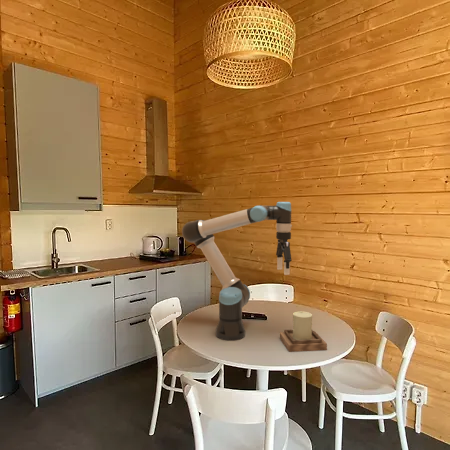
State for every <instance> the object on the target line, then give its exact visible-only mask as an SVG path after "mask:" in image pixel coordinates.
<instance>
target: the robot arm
mask: <svg viewBox="0 0 450 450" xmlns="http://www.w3.org/2000/svg"><path fill="white" fill-rule="evenodd" d="M263 221H276V223H275V225H276V227H275V228H276V231H277V232H276V233H275V234H276V239H277V246H276V252H275V253H276V254H275V255H276V263H277V264H276V270H277V271H279V270H280V271H281V270H283V274H284V276H290V274H291V273H290V272H291V262H292V253H291V242H290V241H288V240H291V239H292V232H291V231H292V227H293V225H292V203H291V202H290V201H278V202H276V205H262V204H261V205H260V204H259V205H255V206H254V207H250V208H249V207H248V208H247V209H243V210H239V211H235V212H231V213H228V214H224V215H221V216H218V217H213V218H210V219H206V220H204V219H203V220H202V219H196V220H192V221H188V222H186V223H185V224H184V225H183V226H182V229H181V234H182V238H183V239H184V240H185V241H186V242H188V243H193V244H194V245H195V247H196V248H197V249H200V250H201V251H202V254H203V255H204V256H205V259H206V260H207V262H208V263H209V266H210V267H211V268H212V271H213V272H214V274H215V275H216V277H217V279H218V281H219V282H220V285H222V288H221V290H220V291H219V295H218V303H219V304H218V309H219V310H218V311H219V312H218V317H219V318H218V323H217V325H216V328H215V337H217V338H218V339H221V340H223V341H224V340H225V341H237V340H241V339H243V338H244V337H246V329H245V326H244V325H245V324H244V323H243V319H242V318H243V307H244V306H246V305H247V304H248V302H249V300H250V298H251V292H250V289H249V286H247V285H246V284H244V283H243V282H242V280H241V279H240V278H238V277H236V275H235V274H234V272H233V271H232V269H231V267H230V266H229V264H228V263H227V260H226V258H225V257H224V255H223V254H222V252H221V251H220V248H219V247H218V246H217V244H216V243H215V236H214V234H217V233H220V232H224V231H229V230H233V229H235V228H239V227H243V226H244V227H245V226H248V225H251V224H255V223H259V222H263ZM283 258H284V259H283ZM283 267H284V268H283Z"/></svg>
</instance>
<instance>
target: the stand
mask: <svg viewBox="0 0 450 450" xmlns="http://www.w3.org/2000/svg"><path fill="white" fill-rule="evenodd" d="M292 336H293V329H283V331H280V332H279V339H280V341H281V342H282V344H283V345H284V347H285V348H286V350H287V351H288V352H289V353H290V352H291V353H292V352H308V351H309V352H313V351H327V350H328V344H327V342H326V341H325V340H324V339H323V338H322V336H320V335H319V334H318V333H317V332H316V331H315V330H313V329H312V339H309V340H295V339H294V338H293V337H292Z"/></svg>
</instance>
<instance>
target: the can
mask: <svg viewBox="0 0 450 450" xmlns="http://www.w3.org/2000/svg"><path fill="white" fill-rule="evenodd" d="M292 330H293V336H292V337H293V338H294V339H295V340H309V339H312V330H313V314H312V313H311V312H308V311H301V310H300V311H295V312H293V313H292Z"/></svg>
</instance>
